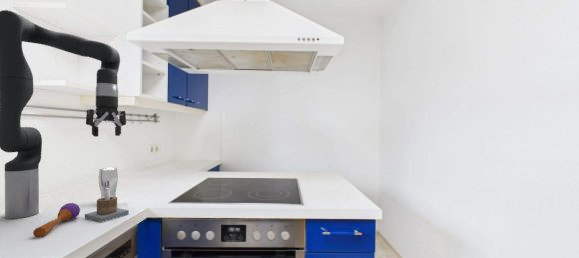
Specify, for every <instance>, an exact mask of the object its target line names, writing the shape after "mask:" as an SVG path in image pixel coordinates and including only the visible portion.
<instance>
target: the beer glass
mask: <svg viewBox="0 0 579 258" xmlns="http://www.w3.org/2000/svg"><path fill="white" fill-rule="evenodd" d="M118 175H119V174H118V168H117V167H105V168H100V169H98V187H99V190H100V198H104V197H105V189H106V188H109V189H110V197H117V195H116V193H117V187H118V182H119V181H118V179H119V178H118Z"/></svg>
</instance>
